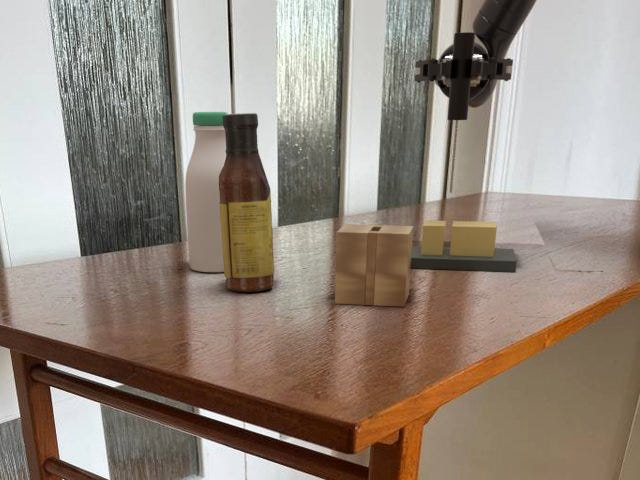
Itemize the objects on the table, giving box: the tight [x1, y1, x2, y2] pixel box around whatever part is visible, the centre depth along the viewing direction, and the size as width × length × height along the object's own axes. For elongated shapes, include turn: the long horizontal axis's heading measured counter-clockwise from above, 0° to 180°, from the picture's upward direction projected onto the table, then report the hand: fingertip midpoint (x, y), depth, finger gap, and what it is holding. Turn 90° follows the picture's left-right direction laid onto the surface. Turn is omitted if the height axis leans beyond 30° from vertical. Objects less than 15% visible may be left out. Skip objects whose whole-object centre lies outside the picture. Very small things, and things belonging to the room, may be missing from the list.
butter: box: [411, 220, 517, 273], centre depth 107 cm, size 16×10×6 cm, turn 77°
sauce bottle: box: [219, 112, 275, 293], centre depth 90 cm, size 7×6×20 cm
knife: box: [446, 31, 476, 193], centre depth 100 cm, size 3×3×19 cm
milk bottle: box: [184, 111, 228, 273], centre depth 102 cm, size 8×8×20 cm
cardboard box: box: [334, 224, 414, 308], centre depth 87 cm, size 8×6×8 cm
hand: (461, 68), depth 95 cm, fingers closed on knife, 2 cm apart
